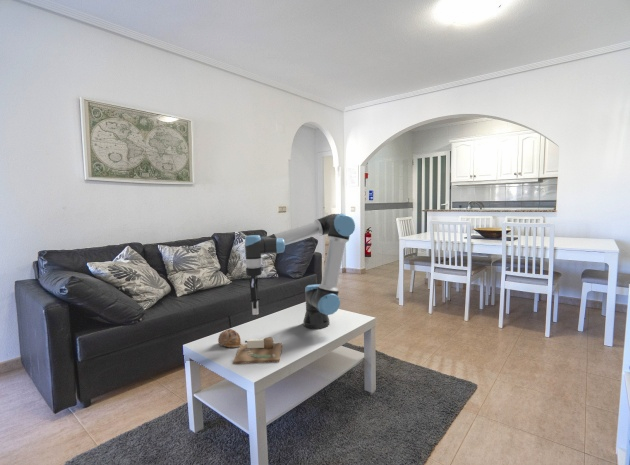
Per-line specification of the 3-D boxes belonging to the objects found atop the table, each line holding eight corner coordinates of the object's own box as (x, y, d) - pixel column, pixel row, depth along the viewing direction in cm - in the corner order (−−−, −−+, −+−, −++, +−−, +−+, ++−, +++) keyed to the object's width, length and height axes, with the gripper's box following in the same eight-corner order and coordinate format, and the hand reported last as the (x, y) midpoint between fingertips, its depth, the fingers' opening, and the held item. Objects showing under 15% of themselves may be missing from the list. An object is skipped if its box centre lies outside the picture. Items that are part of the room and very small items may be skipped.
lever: (273, 345, 159) (273, 337, 159) (272, 348, 155) (272, 340, 155) (246, 346, 159) (245, 338, 159) (244, 350, 154) (244, 341, 154)
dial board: (282, 345, 162) (282, 342, 162) (279, 362, 144) (279, 358, 144) (241, 347, 162) (241, 344, 162) (233, 364, 144) (233, 360, 144)
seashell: (220, 349, 157) (218, 329, 161) (218, 353, 165) (216, 333, 169) (242, 345, 162) (239, 325, 166) (240, 349, 169) (237, 329, 173)
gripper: (248, 265, 168) (250, 310, 169) (243, 269, 155) (245, 318, 156) (263, 264, 168) (264, 310, 169) (259, 268, 155) (261, 318, 156)
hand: (255, 314), depth 163 cm, fingers closed
